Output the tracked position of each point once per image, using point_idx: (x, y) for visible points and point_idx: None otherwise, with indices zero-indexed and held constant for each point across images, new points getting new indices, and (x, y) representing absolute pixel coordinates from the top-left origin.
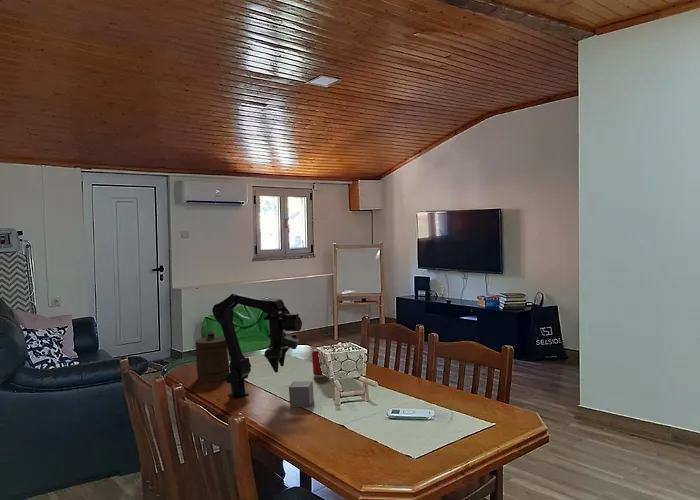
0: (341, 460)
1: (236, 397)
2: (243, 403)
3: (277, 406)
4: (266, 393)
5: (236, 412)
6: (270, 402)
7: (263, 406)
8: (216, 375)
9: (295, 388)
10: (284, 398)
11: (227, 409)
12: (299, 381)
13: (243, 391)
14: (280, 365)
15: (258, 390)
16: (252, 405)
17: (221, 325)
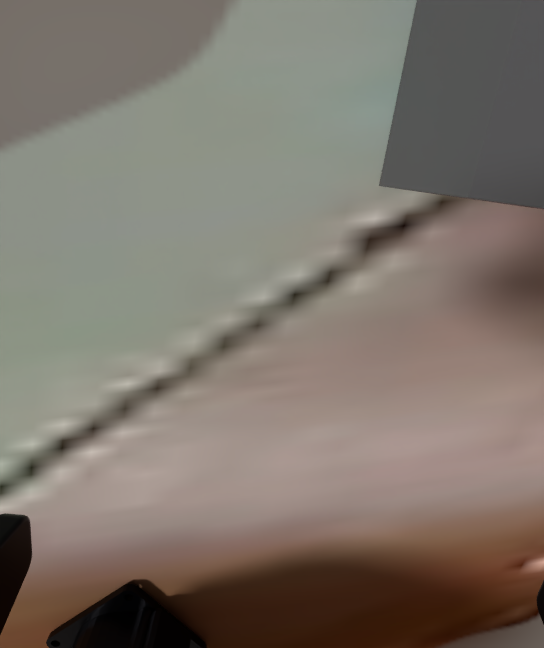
0: None
1: (201, 643)
2: (329, 579)
3: (490, 332)
4: (98, 467)
5: (517, 586)
6: (359, 403)
7: (449, 441)
8: None
9: None
10: (272, 297)
11: (431, 642)
12: (515, 69)
13: (163, 643)
14: (19, 584)
15: None
16: (396, 518)
17: None
